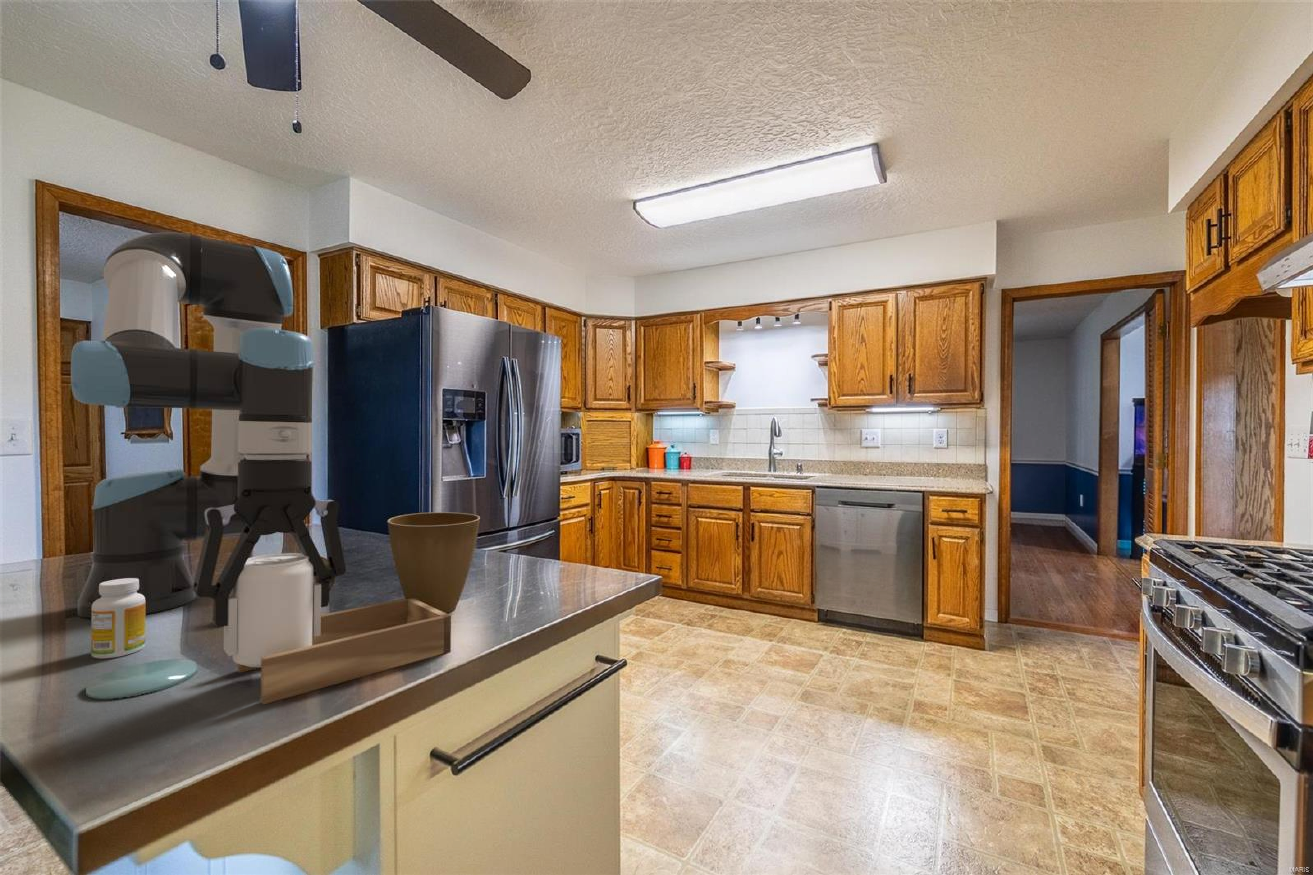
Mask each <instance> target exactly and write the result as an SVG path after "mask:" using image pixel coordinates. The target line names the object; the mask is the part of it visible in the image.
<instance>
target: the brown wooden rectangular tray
mask: <svg viewBox="0 0 1313 875" xmlns="http://www.w3.org/2000/svg"><path fill="white" fill-rule="evenodd" d="M451 640H452V615H450V614H448V613H444V612H442V611H440V610H438V609H435V608H433V607H431V606H429V605H427V604H425V603H423V602H420V601H418V600H416V599H414V598H412V597H409V598H405V597H404V598H401V599H400V598H399V599H395V600H394V599H393V600H389V601H386V602H379V603H375V604H369V605H365V606H359V607H354V608H349V609H344V610H339V611H335V612H330V613H326V614H325V613H324V614H321V636H316V637H313V636H312V646H308V647H304V648H299V649H295V650H291V651H286V652H282V653H278V654H273V655H269V656H265V657H261V667H249V666H245V665H241V664H237V672H238V671H239V672H238V674H240V673H245V672H249V671H253V670H252V669H254V670H257V669H256V668H258V669H260V703H261V704H262V705H266V704H269V703H274V702H277V701H280V700H284V699H288V698H292V697H295V696H299V695H302V694H306V693H309V692H312V691H315V690H319V689H323V688H326V687H330V686H334V685H337V684H341V683H343V682H348V681H351V680H356V679H358V678H361V677H362V678H363V677H365V676H368V675H372V674H376V673H379V672H384V671H387V670H390V669H394V668H397V667H401V666H404V665H405V666H406V665H408V664H412V663H415V662H419V661H421V660H422V661H423V660H426V659H429V658H432V657H436V656H439V655H440V656H441V655H442V654H447V653H450V652H452V649H451V648H452V645H451V644H452V641H451ZM248 670H249V671H248ZM244 671H245V672H244Z"/></svg>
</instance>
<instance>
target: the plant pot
mask: <svg viewBox="0 0 1313 875" xmlns="http://www.w3.org/2000/svg"><path fill="white" fill-rule="evenodd" d="M480 520H481V517H480V515H477V514H471V513H466V512H465V513H463V512H443V511H442V512H441V511H439V512H420V513H419V512H418V513H410V514H403V515H397V516H394V517H391V518H389V519H387V521H386V522H387V528H388V534H389V541H390V547H391V553H392V558H393V561H394V566H395V570H396V575H397V578H398V580H399V584H400V585H399V586H400V587H401V590H402V593H403V596H404V598H409V597H412V598H414V599H416V600H418V601H420V602H423V603H425V604H427V605H429V606H431V607H433V608H435V609H438V610H440V611H442V612H444V613H446V614H448V613H450V612H453V611H455V609H456V608H457V607H458V603H459V601H460V598H461V596H462V593H463V591H464V588H465V586H466V585H465V584H466V582H467V579H468V576H469V572H470V568H471V565H472V562H473V558H474V553H475V548H476V544H477V538H478V535H479V534H478V533H479V527H480V522H481V521H480Z"/></svg>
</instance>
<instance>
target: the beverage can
mask: <svg viewBox="0 0 1313 875" xmlns="http://www.w3.org/2000/svg"><path fill="white" fill-rule="evenodd" d="M308 559H309V557H308V556H305V555H304V554H302V553H297V552H296V553H294V552H293V553H292V552H287V553H274V554H263V555H258V556H253V557H248V559H247V561H246V563H245V565H244V567H243V569H242V571H241V573H240V575H239V577H238V579H237V581H236V583H235V585H234V587H233V589H232V591H233V593H232V594H233V596H234V597H236V598H237V654H236V655H232V660H233V662H234V663H236V664H237V665H238V664H241V665H245V666H249V667H261V657H265V656H269V655H273V654H278V653H282V652H286V651H291V650H295V649H299V648H304V647H308V646H312V631H313V565H312V564H311V562H310V561H309V560H308Z"/></svg>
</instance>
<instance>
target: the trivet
mask: <svg viewBox="0 0 1313 875" xmlns="http://www.w3.org/2000/svg"><path fill="white" fill-rule="evenodd" d="M197 672H198V664H197V662H195V661H194V660H192V659H191V660H190V659H185V658H183V659H181V658H180V659H179V658H176V659H174V658H173V659H172V658H171V659H162V660H155V661H148V662H143V663H137V664H134V665H130V666H126V667H123V668H119V669H116V670H112V671H109V672H107V673H104V674H102V675H100V676H99V677H96V678H95V679H92V680H90V682H89V683H87V685H86V686H85V695H86V696H87V697H88V698H90V699H94V700H114V699H113V698H119V699H124V698H123V697H127V698H129V697H128V696H134V697H139V696H142V695H141V694H144V695H146V694H145V693H148V694H151V693H150V692H152V693H154V692H153V691H156V692H159V691H163V690H165V689H169V688H170V687H171V688H172V687H174V686H177V685H179V684H181V683H180V682H182V683H183V682H186V681H187V680H190V679H191V678H193V677H194V676H195V675H196V673H197ZM178 683H179V684H178ZM138 695H139V696H138Z"/></svg>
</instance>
